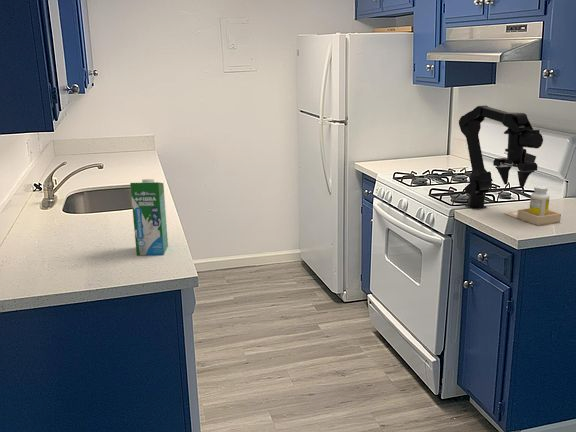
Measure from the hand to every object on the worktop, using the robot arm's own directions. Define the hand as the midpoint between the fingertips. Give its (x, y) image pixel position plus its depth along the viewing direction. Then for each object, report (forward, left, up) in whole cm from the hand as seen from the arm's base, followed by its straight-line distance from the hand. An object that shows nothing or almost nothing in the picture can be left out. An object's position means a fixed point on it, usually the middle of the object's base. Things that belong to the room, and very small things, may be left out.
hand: (513, 186), depth 228 cm
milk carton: (-19, -137, -13) cm, 139 cm away
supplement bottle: (+7, +7, -13) cm, 16 cm away
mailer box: (+3, +8, -13) cm, 15 cm away
